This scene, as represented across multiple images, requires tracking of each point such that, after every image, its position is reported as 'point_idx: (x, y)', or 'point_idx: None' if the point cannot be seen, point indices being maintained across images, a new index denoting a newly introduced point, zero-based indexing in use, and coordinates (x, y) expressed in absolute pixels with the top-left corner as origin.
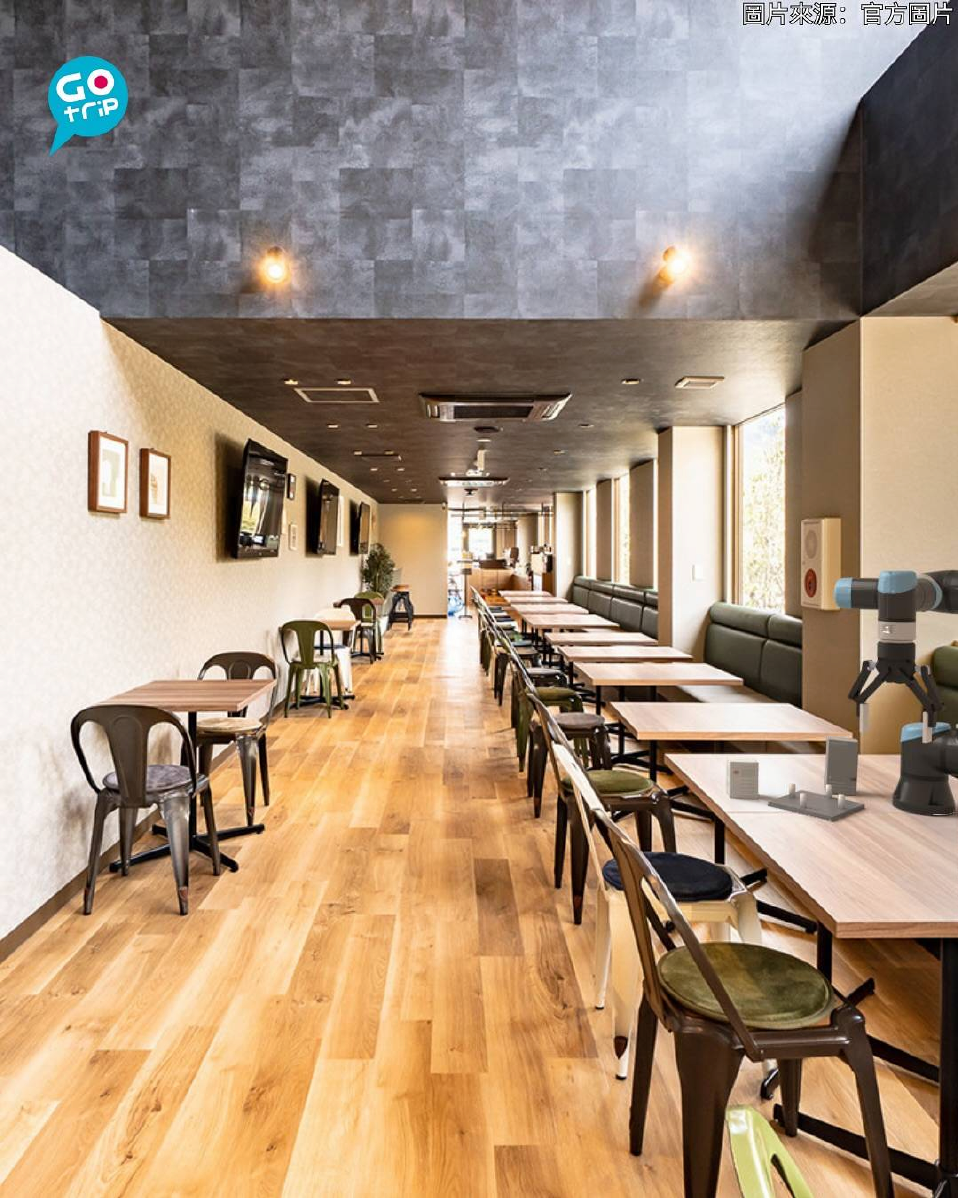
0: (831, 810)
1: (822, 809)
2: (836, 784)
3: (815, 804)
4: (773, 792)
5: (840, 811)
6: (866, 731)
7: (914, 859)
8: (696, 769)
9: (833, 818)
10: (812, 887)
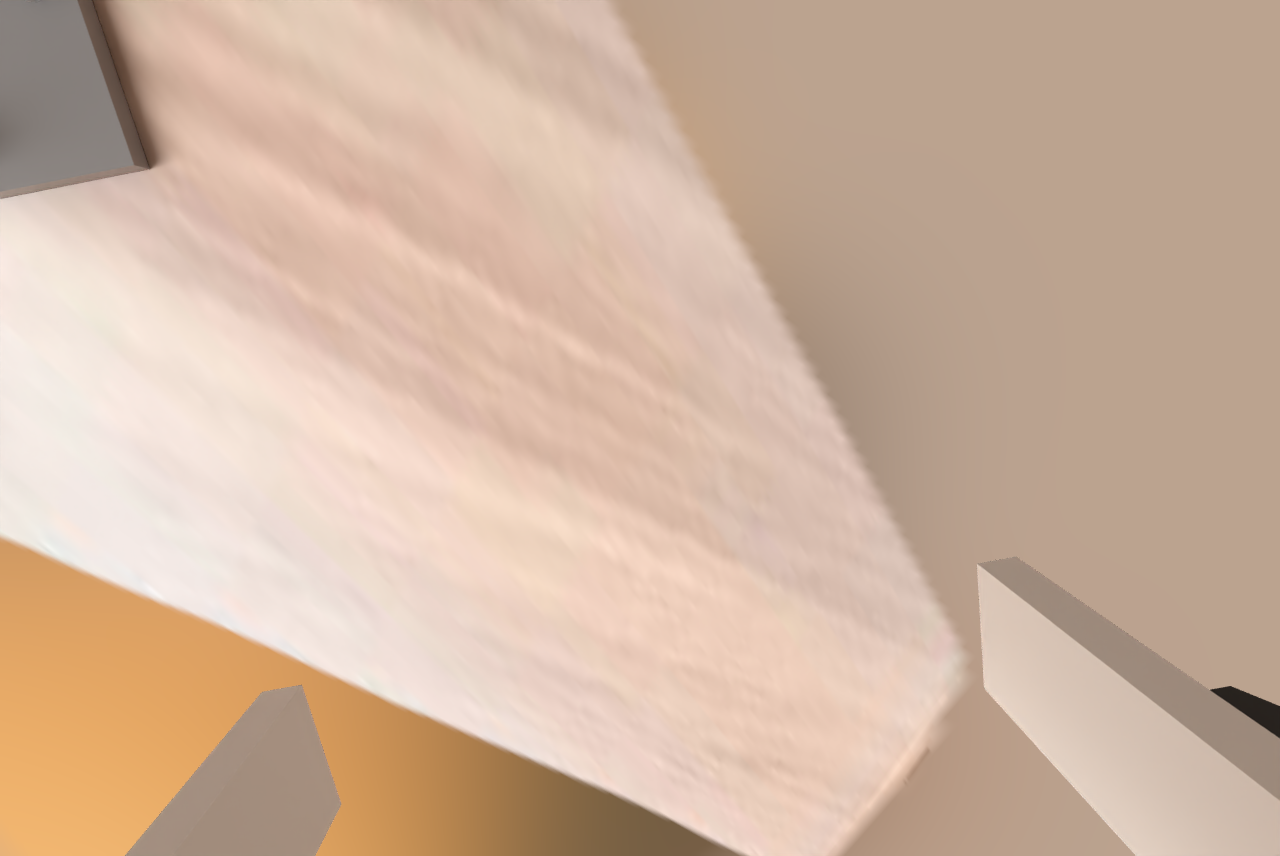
0: (42, 69)
1: (11, 96)
2: None
3: None
4: None
5: (72, 40)
6: (313, 736)
7: (643, 304)
8: None
9: (137, 154)
10: (641, 795)
